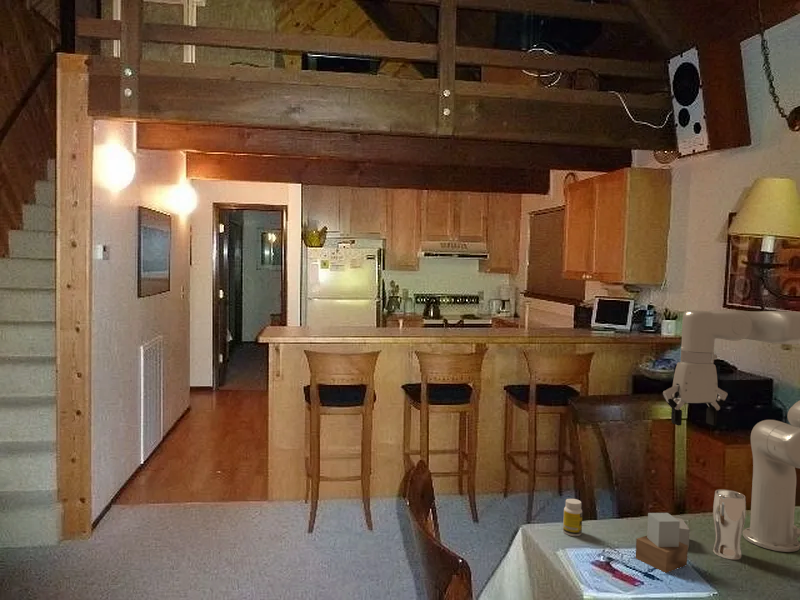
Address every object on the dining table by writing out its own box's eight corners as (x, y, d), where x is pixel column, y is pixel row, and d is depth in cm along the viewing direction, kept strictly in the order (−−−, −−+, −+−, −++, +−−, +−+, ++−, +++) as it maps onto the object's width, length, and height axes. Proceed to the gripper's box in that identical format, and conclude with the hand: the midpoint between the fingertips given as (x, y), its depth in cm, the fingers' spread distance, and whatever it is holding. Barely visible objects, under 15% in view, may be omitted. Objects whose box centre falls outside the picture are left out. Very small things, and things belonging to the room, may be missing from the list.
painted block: (666, 537, 140) (667, 512, 140) (678, 546, 135) (679, 521, 135) (647, 537, 140) (648, 513, 139) (658, 547, 135) (659, 521, 134)
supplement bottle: (582, 537, 150) (583, 505, 149) (563, 535, 150) (564, 503, 150) (580, 530, 154) (581, 498, 154) (562, 528, 155) (563, 497, 155)
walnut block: (656, 552, 143) (657, 532, 143) (686, 566, 136) (687, 545, 136) (635, 559, 139) (636, 538, 139) (665, 574, 132) (666, 552, 132)
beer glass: (739, 550, 145) (742, 491, 145) (746, 563, 139) (749, 501, 138) (708, 545, 147) (711, 487, 147) (713, 557, 141) (717, 496, 140)
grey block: (681, 537, 152) (682, 518, 152) (688, 549, 145) (689, 529, 145) (652, 534, 154) (653, 515, 154) (658, 545, 147) (659, 526, 147)
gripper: (718, 357, 154) (714, 421, 154) (657, 356, 152) (654, 420, 152) (738, 361, 146) (734, 428, 147) (674, 359, 144) (671, 427, 145)
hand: (693, 424), depth 149 cm, fingers open, 9 cm apart
